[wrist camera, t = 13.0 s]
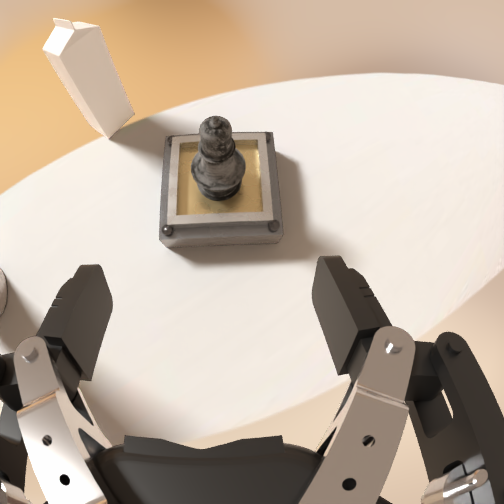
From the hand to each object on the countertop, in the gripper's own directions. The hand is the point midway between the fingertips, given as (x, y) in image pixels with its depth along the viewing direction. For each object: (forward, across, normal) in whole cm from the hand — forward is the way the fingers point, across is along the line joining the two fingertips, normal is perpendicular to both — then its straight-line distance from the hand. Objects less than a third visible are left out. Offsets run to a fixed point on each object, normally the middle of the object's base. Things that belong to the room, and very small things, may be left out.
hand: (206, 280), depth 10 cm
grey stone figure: (+24, 0, +5) cm, 25 cm away
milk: (+38, +18, -3) cm, 42 cm away
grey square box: (+27, 0, +8) cm, 28 cm away
